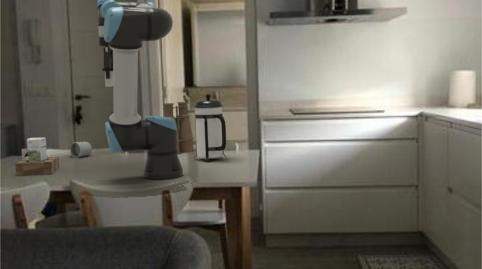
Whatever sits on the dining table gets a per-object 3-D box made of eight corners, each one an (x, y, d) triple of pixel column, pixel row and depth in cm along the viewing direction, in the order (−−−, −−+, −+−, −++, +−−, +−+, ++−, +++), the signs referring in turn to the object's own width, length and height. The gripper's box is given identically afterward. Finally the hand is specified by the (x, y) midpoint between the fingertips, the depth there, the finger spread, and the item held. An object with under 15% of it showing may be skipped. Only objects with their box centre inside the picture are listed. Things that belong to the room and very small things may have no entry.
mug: (25, 164, 247) (24, 150, 247) (20, 163, 252) (19, 149, 252) (47, 162, 254) (46, 148, 253) (42, 160, 259) (41, 146, 258)
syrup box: (48, 170, 230) (46, 136, 228) (41, 173, 224) (39, 138, 222) (35, 170, 231) (33, 137, 229) (28, 173, 225) (26, 138, 223)
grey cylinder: (93, 155, 269) (92, 140, 268) (80, 158, 262) (79, 142, 261) (79, 154, 275) (78, 140, 274) (66, 157, 268) (65, 141, 267)
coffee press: (188, 162, 239) (185, 94, 236) (199, 157, 255) (197, 93, 251) (226, 163, 235) (224, 94, 232) (235, 157, 250) (233, 92, 247)
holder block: (51, 174, 221) (50, 162, 221) (16, 175, 220) (15, 163, 219) (59, 168, 235) (58, 156, 234) (26, 169, 234) (25, 158, 233)
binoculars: (171, 155, 261) (168, 104, 258) (156, 154, 266) (153, 104, 263) (198, 150, 277) (196, 101, 275) (183, 149, 283) (181, 101, 280)
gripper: (113, 34, 219) (116, 86, 222) (120, 38, 244) (122, 85, 246) (94, 34, 218) (97, 87, 221) (103, 38, 243) (106, 86, 245)
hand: (110, 86), depth 233 cm, fingers open, 13 cm apart
